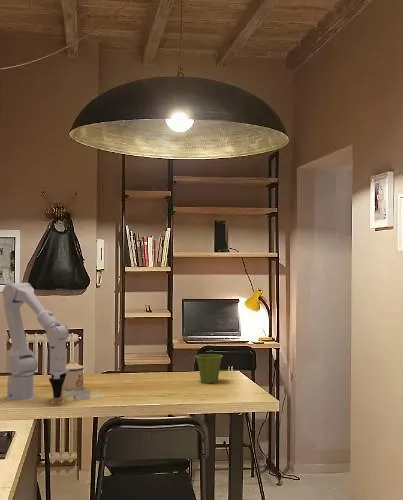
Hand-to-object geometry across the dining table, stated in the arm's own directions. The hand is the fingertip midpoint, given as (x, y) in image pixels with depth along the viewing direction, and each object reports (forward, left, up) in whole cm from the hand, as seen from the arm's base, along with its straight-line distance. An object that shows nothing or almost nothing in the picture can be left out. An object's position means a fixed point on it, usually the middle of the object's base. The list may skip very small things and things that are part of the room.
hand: (58, 395), depth 237 cm
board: (+7, +5, -3) cm, 9 cm away
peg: (0, 0, -2) cm, 2 cm away
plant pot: (+61, +31, -3) cm, 69 cm away
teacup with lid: (+4, +27, -3) cm, 27 cm away
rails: (+6, +6, -3) cm, 9 cm away
